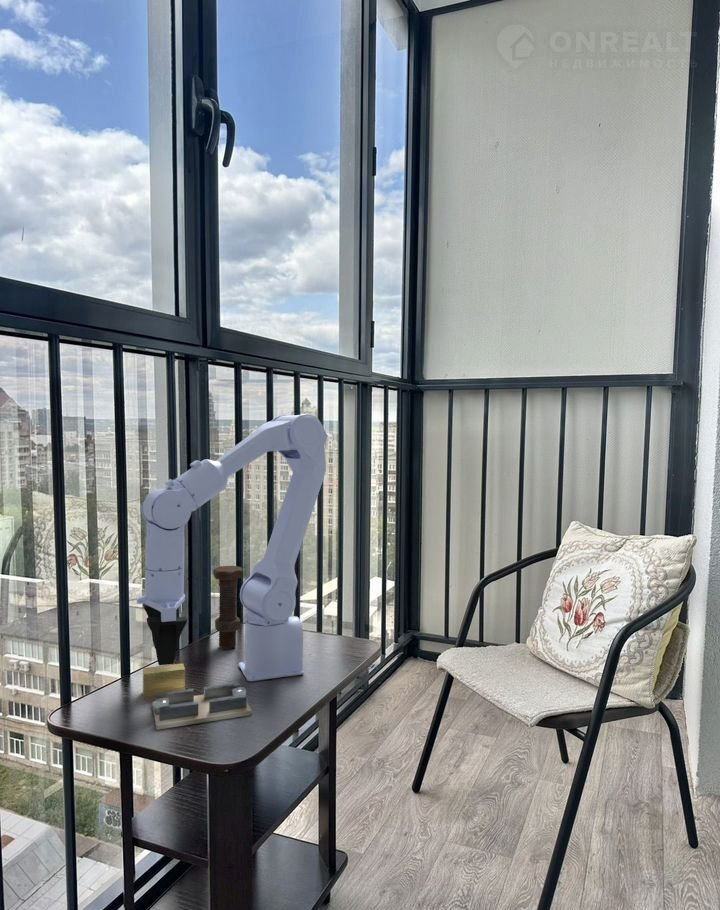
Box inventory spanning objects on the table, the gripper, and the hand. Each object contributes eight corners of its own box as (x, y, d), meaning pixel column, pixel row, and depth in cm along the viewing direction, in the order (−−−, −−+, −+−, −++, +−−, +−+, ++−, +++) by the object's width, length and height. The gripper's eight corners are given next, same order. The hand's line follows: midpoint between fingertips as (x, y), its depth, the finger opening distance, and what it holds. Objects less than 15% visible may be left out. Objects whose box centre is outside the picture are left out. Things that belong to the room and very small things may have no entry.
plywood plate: (240, 693, 96) (240, 689, 96) (251, 714, 89) (251, 710, 89) (152, 705, 91) (152, 701, 91) (156, 729, 84) (156, 725, 84)
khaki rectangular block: (182, 688, 98) (183, 663, 98) (184, 694, 96) (185, 669, 95) (142, 693, 96) (142, 668, 96) (143, 700, 93) (144, 674, 93)
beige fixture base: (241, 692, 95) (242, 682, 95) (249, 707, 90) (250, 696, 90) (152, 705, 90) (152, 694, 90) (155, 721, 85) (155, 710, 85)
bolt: (231, 640, 121) (231, 564, 120) (248, 646, 117) (249, 567, 117) (206, 648, 116) (207, 568, 116) (223, 654, 113) (224, 572, 112)
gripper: (134, 559, 100) (133, 643, 101) (139, 579, 87) (138, 675, 87) (180, 557, 103) (178, 638, 103) (191, 576, 90) (190, 669, 90)
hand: (163, 655), depth 95 cm, fingers open, 7 cm apart
